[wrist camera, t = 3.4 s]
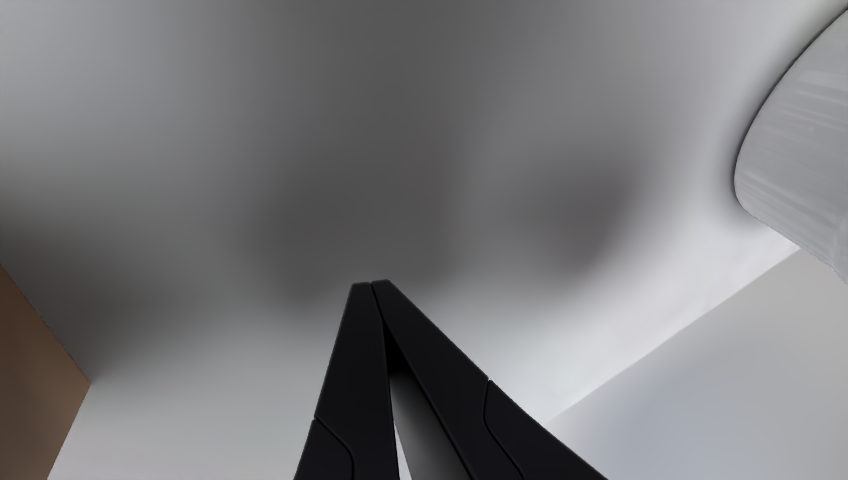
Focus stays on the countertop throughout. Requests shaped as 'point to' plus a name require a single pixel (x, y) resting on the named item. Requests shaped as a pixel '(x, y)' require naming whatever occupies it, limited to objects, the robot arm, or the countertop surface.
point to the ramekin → (804, 152)
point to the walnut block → (33, 389)
